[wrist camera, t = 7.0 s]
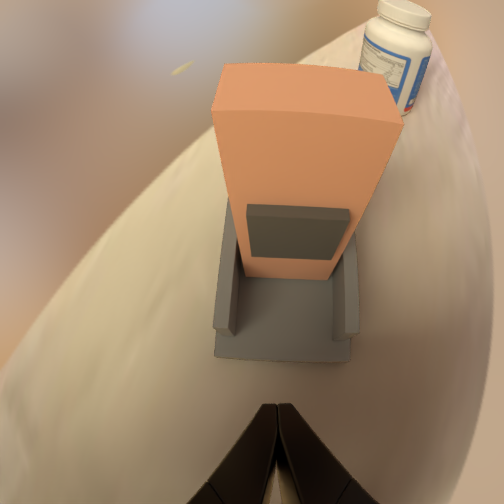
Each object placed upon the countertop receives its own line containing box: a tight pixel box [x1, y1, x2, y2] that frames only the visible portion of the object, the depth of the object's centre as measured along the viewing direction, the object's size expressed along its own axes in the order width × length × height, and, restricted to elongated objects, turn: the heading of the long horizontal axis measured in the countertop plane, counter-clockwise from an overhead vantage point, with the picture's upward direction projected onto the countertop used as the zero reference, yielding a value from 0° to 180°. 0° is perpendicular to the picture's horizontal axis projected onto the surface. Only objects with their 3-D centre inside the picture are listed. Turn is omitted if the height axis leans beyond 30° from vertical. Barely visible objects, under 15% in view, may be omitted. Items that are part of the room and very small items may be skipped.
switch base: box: [213, 196, 360, 363], centre depth 13 cm, size 10×6×6 cm, turn 176°
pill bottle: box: [358, 0, 432, 116], centre depth 17 cm, size 6×5×10 cm
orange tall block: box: [211, 63, 404, 280], centre depth 10 cm, size 2×4×10 cm, turn 86°
